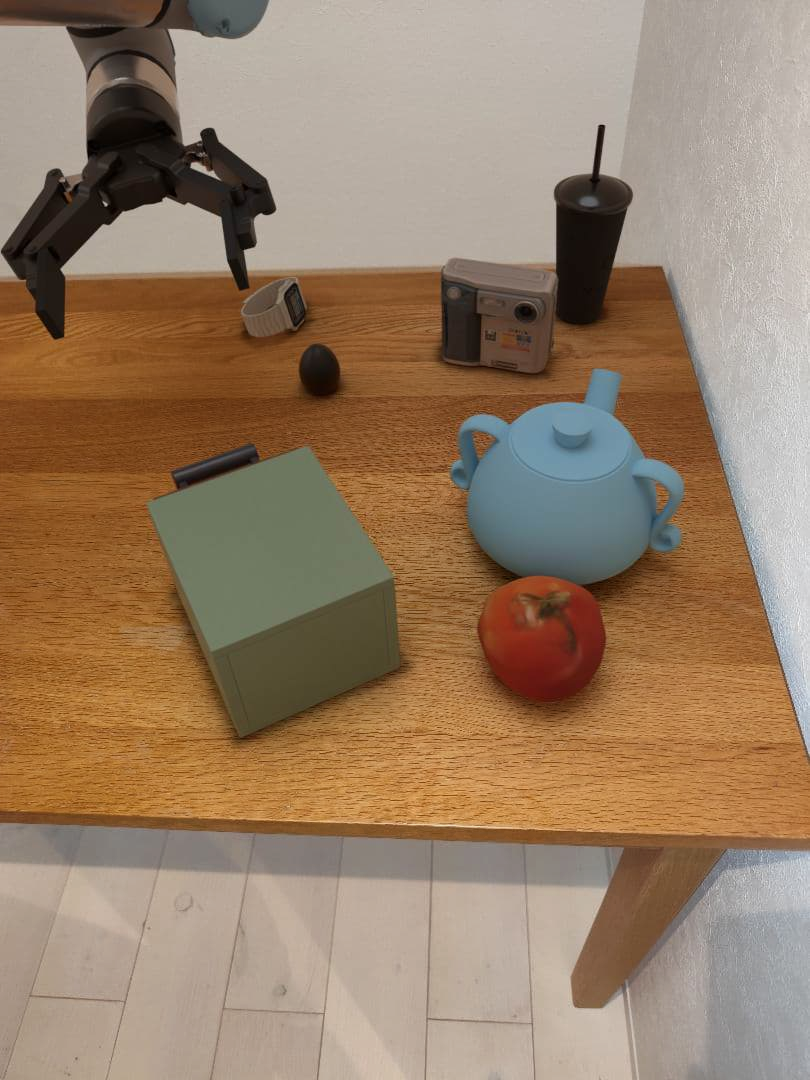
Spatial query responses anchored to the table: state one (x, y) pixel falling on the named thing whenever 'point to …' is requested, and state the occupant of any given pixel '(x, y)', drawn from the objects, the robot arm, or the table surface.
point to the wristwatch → (275, 308)
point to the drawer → (216, 467)
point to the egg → (319, 369)
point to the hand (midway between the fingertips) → (144, 300)
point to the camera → (497, 315)
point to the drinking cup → (587, 238)
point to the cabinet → (279, 587)
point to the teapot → (566, 489)
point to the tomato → (542, 637)
